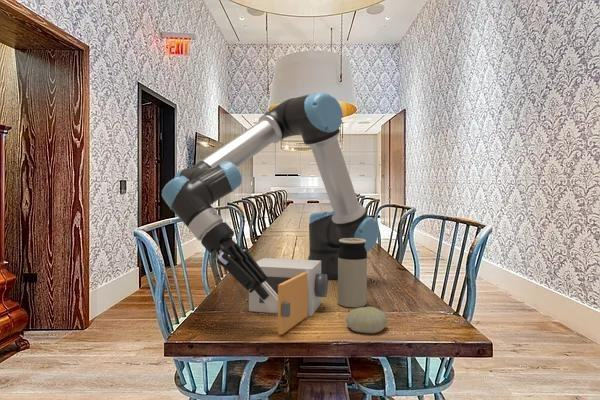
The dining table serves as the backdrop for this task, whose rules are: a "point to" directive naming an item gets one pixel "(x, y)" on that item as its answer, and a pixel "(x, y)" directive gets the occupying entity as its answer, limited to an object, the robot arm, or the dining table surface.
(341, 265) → the travel mug
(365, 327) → the sea urchin shell
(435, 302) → the dining table surface
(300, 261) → the case
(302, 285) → the hatch
